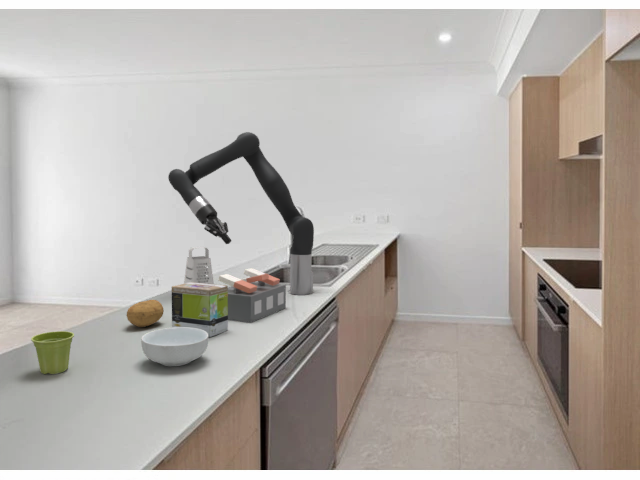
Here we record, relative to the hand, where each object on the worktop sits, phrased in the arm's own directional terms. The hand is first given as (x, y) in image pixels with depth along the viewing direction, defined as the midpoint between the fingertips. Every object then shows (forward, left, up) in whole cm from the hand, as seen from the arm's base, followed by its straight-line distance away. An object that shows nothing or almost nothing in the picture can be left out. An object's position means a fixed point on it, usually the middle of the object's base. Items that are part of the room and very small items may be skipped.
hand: (229, 242), depth 206 cm
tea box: (+22, +33, -24) cm, 47 cm away
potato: (+36, +19, -24) cm, 48 cm away
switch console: (-4, +15, -24) cm, 29 cm away
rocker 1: (+5, +22, -12) cm, 25 cm away
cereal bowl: (+37, +59, -24) cm, 74 cm away
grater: (+4, -24, -24) cm, 35 cm away
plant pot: (+65, +52, -24) cm, 87 cm away
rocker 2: (-2, +17, -12) cm, 21 cm away
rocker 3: (-8, +12, -12) cm, 19 cm away
